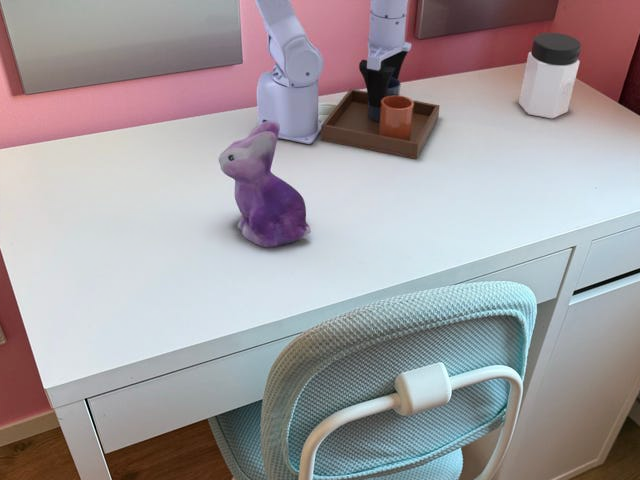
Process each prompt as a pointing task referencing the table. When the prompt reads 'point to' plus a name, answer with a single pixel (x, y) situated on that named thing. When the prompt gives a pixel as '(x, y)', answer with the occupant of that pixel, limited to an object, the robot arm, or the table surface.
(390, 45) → the robot arm
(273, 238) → the figurine
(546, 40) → the jar
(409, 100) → the orange cup
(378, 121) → the blue cup
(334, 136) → the tray
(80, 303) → the table surface
